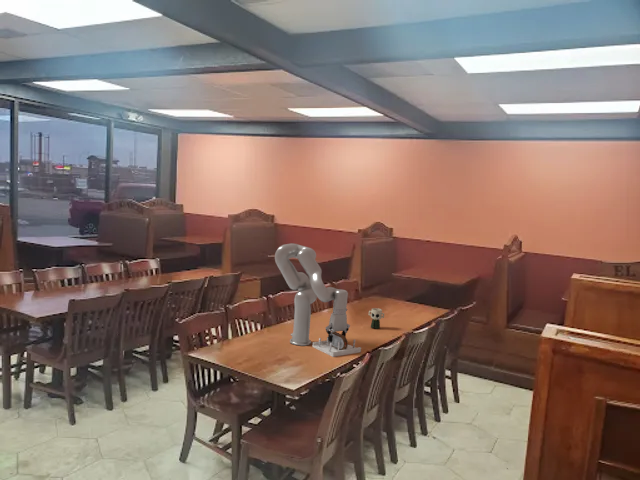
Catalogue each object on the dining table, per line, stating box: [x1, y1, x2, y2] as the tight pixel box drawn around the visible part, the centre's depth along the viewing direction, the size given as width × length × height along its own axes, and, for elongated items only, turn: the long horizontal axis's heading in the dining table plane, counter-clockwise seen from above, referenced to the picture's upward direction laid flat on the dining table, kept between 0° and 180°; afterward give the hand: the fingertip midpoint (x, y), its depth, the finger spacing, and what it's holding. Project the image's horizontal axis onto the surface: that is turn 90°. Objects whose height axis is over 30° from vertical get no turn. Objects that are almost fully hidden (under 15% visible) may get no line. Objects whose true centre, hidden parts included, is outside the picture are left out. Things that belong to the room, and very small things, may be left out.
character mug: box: [368, 307, 385, 330], centre depth 350 cm, size 11×7×13 cm, turn 68°
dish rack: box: [312, 336, 362, 358], centre depth 296 cm, size 19×20×6 cm
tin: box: [329, 331, 349, 350], centre depth 295 cm, size 15×3×8 cm, turn 37°
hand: (336, 340), depth 296 cm, fingers open, 9 cm apart
